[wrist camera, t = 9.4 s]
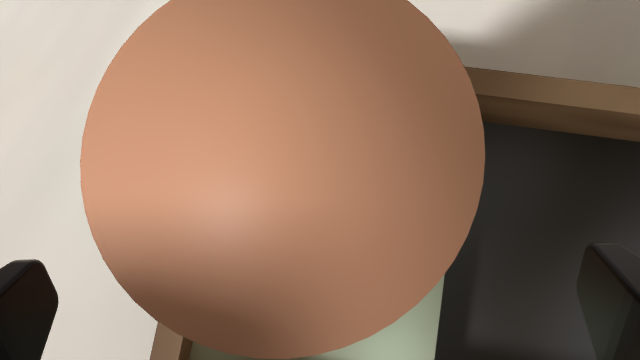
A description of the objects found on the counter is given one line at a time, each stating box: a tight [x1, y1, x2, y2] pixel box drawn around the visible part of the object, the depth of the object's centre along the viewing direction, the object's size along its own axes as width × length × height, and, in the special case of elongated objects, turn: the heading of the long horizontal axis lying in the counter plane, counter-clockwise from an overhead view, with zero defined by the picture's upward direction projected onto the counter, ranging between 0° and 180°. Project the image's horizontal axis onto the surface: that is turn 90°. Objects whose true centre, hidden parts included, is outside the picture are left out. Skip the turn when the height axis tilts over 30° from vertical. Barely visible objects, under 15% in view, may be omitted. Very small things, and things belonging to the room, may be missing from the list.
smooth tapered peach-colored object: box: [80, 0, 485, 359], centre depth 11 cm, size 5×5×10 cm
